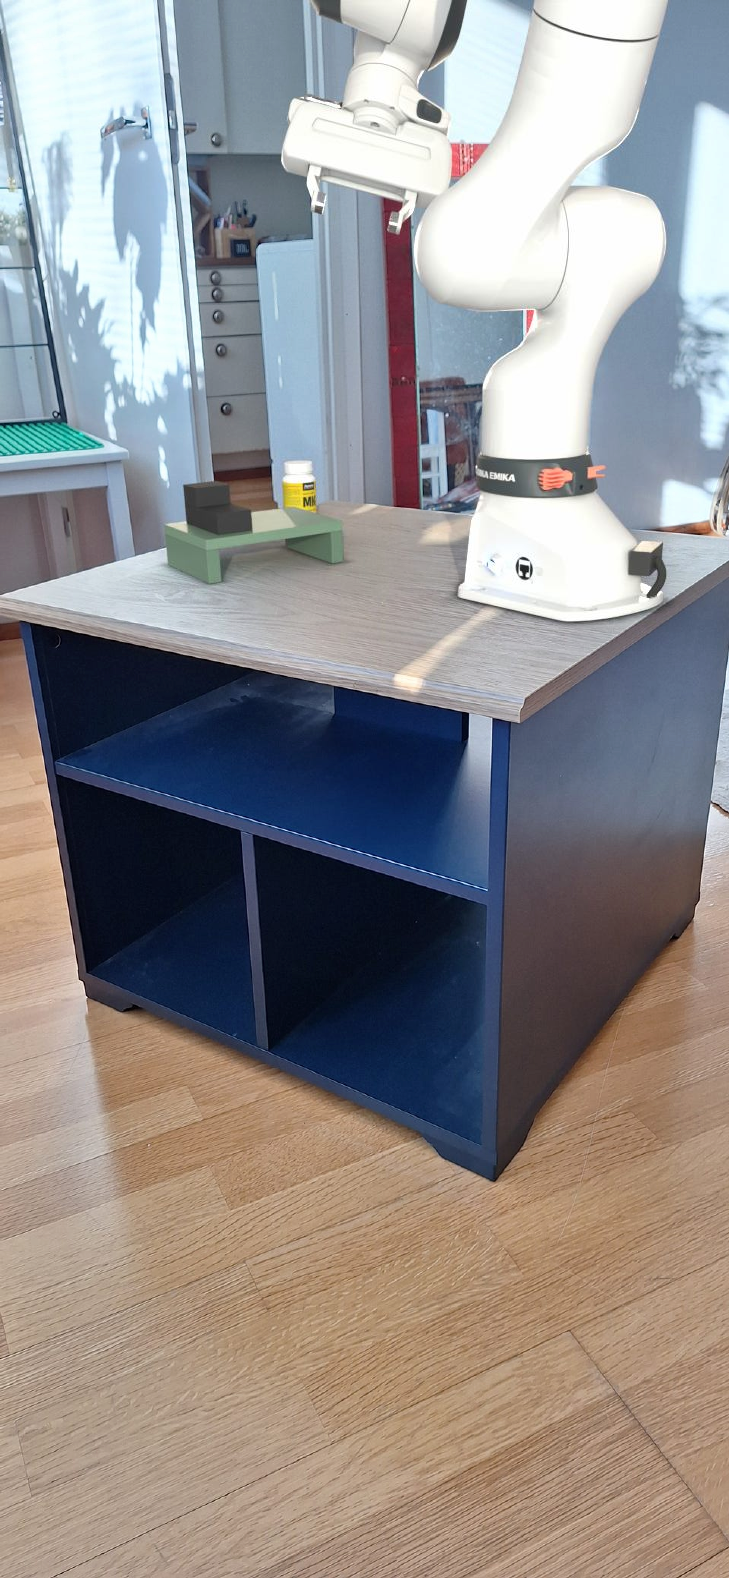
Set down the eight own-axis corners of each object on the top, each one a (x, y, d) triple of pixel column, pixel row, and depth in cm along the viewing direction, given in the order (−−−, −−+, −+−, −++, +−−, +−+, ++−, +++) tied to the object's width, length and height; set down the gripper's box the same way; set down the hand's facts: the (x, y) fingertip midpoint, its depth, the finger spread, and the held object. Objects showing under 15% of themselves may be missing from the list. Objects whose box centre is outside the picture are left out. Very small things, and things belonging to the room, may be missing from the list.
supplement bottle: (307, 527, 156) (304, 465, 153) (278, 524, 158) (274, 464, 155) (323, 520, 160) (320, 460, 157) (294, 518, 162) (291, 459, 159)
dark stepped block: (252, 530, 130) (250, 490, 128) (218, 535, 128) (215, 494, 126) (219, 519, 137) (216, 480, 135) (186, 523, 135) (182, 484, 133)
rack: (343, 561, 136) (342, 520, 134) (209, 583, 127) (205, 540, 125) (295, 545, 145) (294, 506, 143) (167, 565, 137) (163, 524, 135)
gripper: (294, 71, 129) (270, 181, 128) (464, 118, 132) (442, 227, 130) (291, 108, 136) (268, 213, 134) (453, 152, 138) (432, 256, 137)
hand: (355, 220), depth 132 cm, fingers open, 8 cm apart
